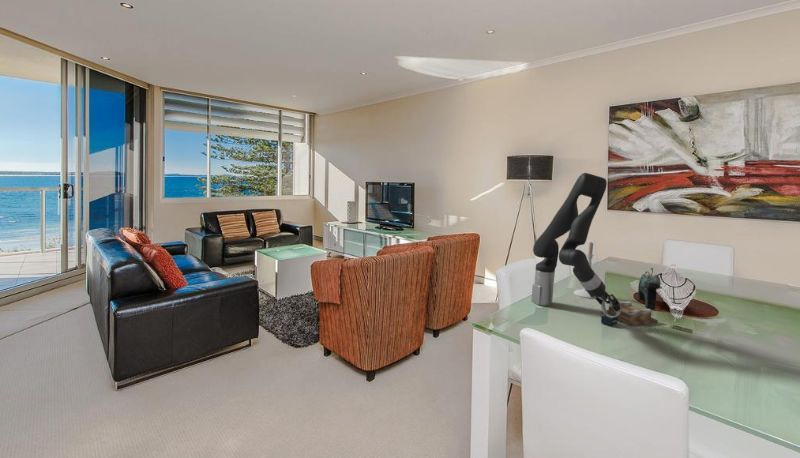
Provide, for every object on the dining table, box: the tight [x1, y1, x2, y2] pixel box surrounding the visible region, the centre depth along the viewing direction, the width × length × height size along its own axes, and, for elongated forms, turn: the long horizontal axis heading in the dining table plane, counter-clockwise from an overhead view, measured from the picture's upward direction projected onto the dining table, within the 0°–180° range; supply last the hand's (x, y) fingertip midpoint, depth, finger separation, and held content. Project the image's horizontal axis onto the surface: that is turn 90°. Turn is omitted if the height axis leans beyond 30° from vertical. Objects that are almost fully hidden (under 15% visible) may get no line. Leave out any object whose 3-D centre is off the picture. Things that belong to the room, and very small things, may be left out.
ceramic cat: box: [637, 267, 661, 311], centre depth 194 cm, size 20×6×20 cm, turn 161°
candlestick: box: [573, 241, 595, 300], centre depth 207 cm, size 13×13×30 cm
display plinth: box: [600, 301, 659, 327], centre depth 176 cm, size 16×16×6 cm
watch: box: [600, 298, 622, 327], centre depth 167 cm, size 6×8×11 cm
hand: (610, 306), depth 167 cm, fingers closed on watch, 8 cm apart
